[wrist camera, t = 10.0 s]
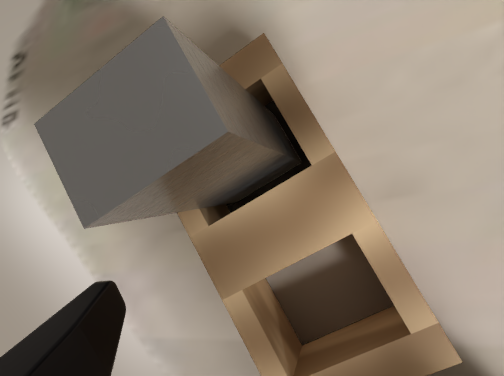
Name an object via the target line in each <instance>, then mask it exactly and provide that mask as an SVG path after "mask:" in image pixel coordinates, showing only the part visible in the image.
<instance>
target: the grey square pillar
mask: <svg viewBox="0 0 504 376" xmlns="http://www.w3.org/2000/svg"><path fill="white" fill-rule="evenodd" d="M34 125H35V127H36V129H37V131H38V133H39V135H40V137H41V139H42V141H43V144H44V146H45V148H46V150H47V152H48V154H49V156H50V158H51V160H52V162H53V165H54V167H55V169H56V171H57V173H58V175H59V177H60V179H61V181H62V183H63V185H64V188H65V190H66V192H67V194H68V196H69V198H70V200H71V202H72V204H73V206H74V208H75V211H76V213H77V215H78V217H79V219H80V221H81V223H82V225H83V227H84V229H85V228H91V227H97V226H103V225H108V224H114V223H120V222H126V221H131V220H137V219H143V218H149V217H154V216H160V215H166V214H172V213H178V212H183V211H189V210H195V209H201V208H206V207H212V206H218V205H224V204H229V203H235V202H238V201H239V200H241V199H243V198H244V197H246V196H248V195H249V194H251V193H253V192H254V191H256V190H258V189H259V188H261V187H263V186H264V185H266V184H268V183H269V182H271V181H273V180H274V179H276V178H278V177H279V176H281V175H283V174H284V173H286V172H288V171H289V170H291V169H292V168H294V167H296V166H297V165H299V164H301V163H302V161H301V159H300V157H299V156H298V154H297V152H296V151H295V149H294V147H293V146H292V144H291V142H290V141H289V139H288V137H287V135H286V134H285V132H284V130H283V129H282V127H281V125H280V124H279V122H278V120H277V119H276V117H275V115H274V114H273V113H272V112H270V111H269V110H268V109H267V108H266V107H265V106H264V105H263V104H261V103H260V102H259V101H258V100H257V99H256V98H255V97H254V96H252V95H251V94H250V93H249V92H248V91H247V90H246V89H245V88H243V87H242V86H241V85H240V84H239V83H238V82H237V81H235V80H234V79H233V78H232V77H231V76H230V75H229V74H228V73H226V72H225V71H224V70H223V69H222V68H221V67H220V66H219V65H217V64H216V63H215V62H214V61H213V60H212V59H211V58H210V57H208V56H207V55H206V54H205V53H204V52H203V51H202V50H201V49H199V48H198V47H197V46H196V45H195V44H194V43H193V42H192V41H190V40H189V39H188V38H187V37H186V36H185V35H184V34H183V33H181V32H180V31H179V30H178V29H177V28H176V27H175V26H174V25H172V24H171V23H170V22H169V21H168V20H167V19H166V18H165V17H162V18H160V19H159V20H158V21H157V22H156V23H154V24H153V25H152V26H151V27H150V28H148V29H147V30H146V31H145V32H144V33H143V34H141V35H140V36H139V37H138V38H137V39H135V40H134V41H133V42H132V43H131V44H129V45H128V46H127V47H126V48H125V49H123V50H122V51H121V52H120V53H119V54H117V55H116V56H115V57H114V58H113V59H111V60H110V61H109V62H108V63H107V64H105V65H104V66H103V67H102V68H101V69H99V70H98V71H97V72H96V73H95V74H93V75H92V76H91V77H90V78H89V79H87V80H86V81H85V82H84V83H83V84H81V85H80V86H79V87H78V88H77V89H75V90H74V91H73V92H72V93H71V94H69V95H68V96H67V97H66V98H65V99H63V100H62V101H61V102H60V103H59V104H57V105H56V106H55V107H54V108H53V109H51V110H50V111H49V112H48V113H47V114H45V115H44V116H43V117H42V118H41V119H39V120H38V121H37V122H36V123H35V124H34Z"/></svg>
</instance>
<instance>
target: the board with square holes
mask: <svg viewBox="0 0 504 376" xmlns="http://www.w3.org/2000/svg"><path fill="white" fill-rule="evenodd" d="M220 67H221V68H222V69H223V70H224V71H225V72H226V73H228V74H229V75H230V76H231V77H232V78H233V79H234V80H235V81H237V82H238V83H239V84H240V85H241V86H242V87H243V88H245V89H246V90H247V91H248V92H249V93H250V94H251V95H252V96H254V97H255V98H256V99H257V100H258V101H259V102H260V103H261V104H263V105H264V106H265V105H267V104H268V103H270V102H271V101H273V100H274V102H275V104H276V105H277V107H278V109H279V110H280V112H281V114H282V115H283V117H284V119H285V121H286V122H287V124H288V126H289V127H290V129H291V131H292V132H293V134H294V136H295V138H296V139H297V141H298V143H299V144H300V146H301V148H302V149H303V151H304V153H305V154H306V156H307V158H308V160H309V161H310V163H311V165H312V166H310V167H308V168H307V169H305V170H303V171H302V172H300V173H298V174H296V175H295V176H293V177H291V178H290V179H288V180H286V181H285V182H283V183H281V184H280V185H278V186H276V187H274V188H273V189H271V190H269V191H268V192H266V193H264V194H263V195H261V196H259V197H257V198H256V199H254V200H252V201H251V202H249V203H247V204H246V205H244V206H242V207H241V208H239V209H237V210H235V211H234V212H232V213H230V211H229V209H228V208H227V206H226V204H224V205H218V206H212V207H206V208H201V209H195V210H189V211H183V212H178V213H177V214H178V216H179V217H180V219H181V221H182V223H183V225H184V227H185V229H186V231H187V233H188V235H189V237H190V239H191V241H192V243H193V245H194V247H195V248H196V250H197V252H198V254H199V256H200V258H201V260H202V262H203V264H204V266H205V268H206V270H207V272H208V274H209V276H210V277H211V279H212V281H213V283H214V285H215V287H216V289H217V291H218V293H219V295H220V297H221V299H222V301H223V303H224V305H225V306H226V308H227V310H228V312H229V314H230V316H231V318H232V320H233V322H234V324H235V326H236V328H237V330H238V332H239V334H240V336H241V337H242V339H243V341H244V343H245V345H246V347H247V349H248V351H249V353H250V355H251V357H252V359H253V361H254V363H255V365H256V366H257V368H258V370H259V372H260V374H261V376H427V375H430V374H433V373H435V372H438V371H441V370H443V369H446V368H449V367H452V366H454V365H457V364H460V363H462V360H461V359H460V357H459V355H458V354H457V352H456V350H455V349H454V347H453V346H452V344H451V342H450V341H449V339H448V337H447V336H446V334H445V332H444V331H443V329H442V327H441V326H440V324H439V322H438V321H437V319H436V317H435V316H434V314H433V312H432V311H431V309H430V307H429V306H428V304H427V302H426V301H425V299H424V297H423V296H422V294H421V292H420V291H419V289H418V288H417V286H416V284H415V283H414V281H413V279H412V278H411V276H410V274H409V273H408V271H407V269H406V268H405V266H404V264H403V263H402V261H401V259H400V258H399V256H398V254H397V253H396V251H395V249H394V248H393V246H392V244H391V243H390V241H389V239H388V238H387V236H386V234H385V233H384V231H383V229H382V228H381V226H380V225H379V223H378V221H377V220H376V218H375V216H374V215H373V213H372V211H371V210H370V208H369V206H368V205H367V203H366V201H365V200H364V198H363V196H362V195H361V193H360V191H359V190H358V188H357V186H356V185H355V183H354V181H353V180H352V178H351V176H350V175H349V173H348V171H347V170H346V168H345V166H344V165H343V163H342V162H341V160H340V158H339V157H338V155H337V153H336V152H335V150H334V148H333V147H332V145H331V143H330V142H329V140H328V138H327V137H326V135H325V133H324V132H323V130H322V128H321V127H320V125H319V123H318V122H317V120H316V118H315V117H314V115H313V113H312V112H311V110H310V108H309V107H308V105H307V103H306V102H305V100H304V99H303V97H302V95H301V94H300V92H299V90H298V89H297V87H296V85H295V84H294V82H293V80H292V79H291V77H290V75H289V74H288V72H287V70H286V69H285V67H284V65H283V64H282V62H281V60H280V59H279V57H278V55H277V54H276V52H275V50H274V49H273V47H272V45H271V44H270V42H269V40H268V39H267V37H266V36H265V34H264V33H263V34H262V35H260V36H259V37H258V38H256V39H255V40H254V41H252V42H251V43H250V44H248V45H247V46H245V47H244V48H243V49H241V50H240V51H239V52H237V53H236V54H235V55H233V56H232V57H231V58H229V59H228V60H226V61H225V62H224V63H222V64H221V65H220ZM350 234H353V236H354V238H355V239H356V241H357V243H358V245H359V246H360V248H361V250H362V251H363V253H364V255H365V256H366V258H367V260H368V261H369V263H370V265H371V267H372V268H373V270H374V272H375V273H376V275H377V277H378V278H379V280H380V282H381V284H382V285H383V287H384V289H385V290H386V292H387V294H388V295H389V297H390V299H391V301H392V302H393V304H394V306H392V307H390V308H388V309H385V310H383V311H381V312H378V313H376V314H374V315H372V316H369V317H367V318H365V319H362V320H360V321H358V322H356V323H353V324H351V325H349V326H346V327H344V328H342V329H339V330H337V331H335V332H333V333H330V334H328V335H326V336H323V337H321V338H319V339H317V340H314V341H312V342H310V343H307V344H305V345H303V346H302V345H301V343H300V341H299V339H298V337H297V335H296V333H295V332H294V330H293V328H292V326H291V324H290V322H289V321H288V319H287V317H286V315H285V313H284V311H283V309H282V308H281V306H280V304H279V302H278V300H277V298H276V296H275V295H274V293H273V291H272V289H271V287H270V285H269V284H268V282H267V280H266V277H268V276H270V275H272V274H274V273H276V272H278V271H280V270H282V269H284V268H286V267H288V266H290V265H292V264H294V263H296V262H298V261H300V260H301V259H303V258H305V257H307V256H309V255H311V254H313V253H315V252H317V251H319V250H321V249H323V248H325V247H327V246H329V245H331V244H333V243H335V242H337V241H339V240H341V239H342V238H344V237H346V236H348V235H350Z"/></svg>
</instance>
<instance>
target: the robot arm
mask: <svg viewBox="0 0 504 376" xmlns="http://www.w3.org/2000/svg"><path fill="white" fill-rule="evenodd" d="M125 313H126V306H125V302H124V300H123V298H122V296H121V294H120V292H119V290H118V288H117V286H116V284H115V283H114V282H113V281H99V282H95V283H94V284H92V285H91V286H90V287H88V288H87V289H86V290H85V291H83V292H82V293H81V294H80V295H78V296H77V297H76V298H75V299H73V300H72V301H71V302H70V303H68V304H67V305H66V306H65V307H63V308H62V309H61V310H59V311H58V312H57V313H56V314H54V315H53V316H52V317H51V318H49V319H48V320H47V321H46V322H44V323H43V324H42V325H41V326H39V327H38V328H37V329H36V330H34V331H33V332H32V333H30V334H29V335H28V336H27V337H26V338H24V339H23V340H22V341H21V342H19V343H18V344H17V345H15V346H14V347H13V348H12V349H10V350H9V351H8V352H7V353H5V354H4V355H3V356H2V357H0V376H111V372H112V369H113V365H114V360H115V356H116V352H117V348H118V343H119V339H120V335H121V331H122V326H123V322H124V318H125Z"/></svg>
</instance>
